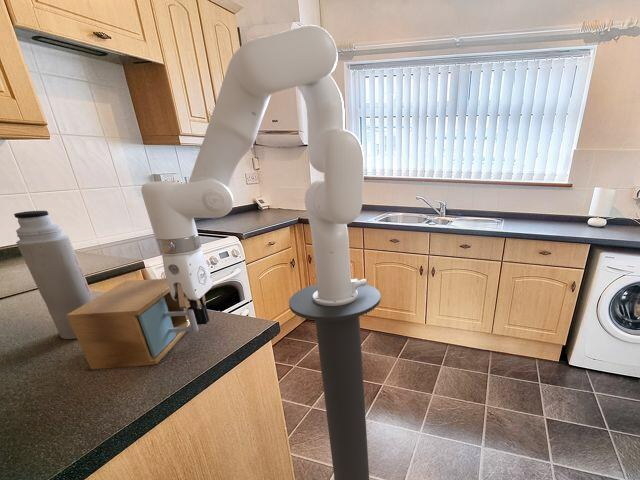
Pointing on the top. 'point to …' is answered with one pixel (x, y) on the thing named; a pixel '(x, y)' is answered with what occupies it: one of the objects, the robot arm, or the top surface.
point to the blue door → (163, 325)
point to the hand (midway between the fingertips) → (201, 322)
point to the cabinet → (122, 324)
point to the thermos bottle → (53, 267)
